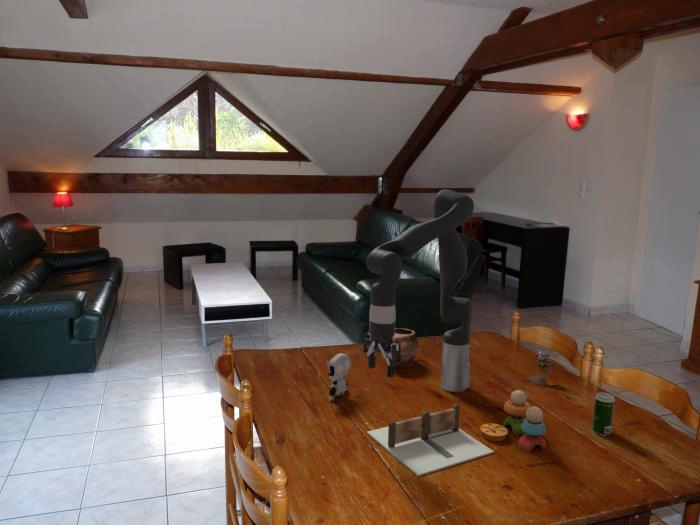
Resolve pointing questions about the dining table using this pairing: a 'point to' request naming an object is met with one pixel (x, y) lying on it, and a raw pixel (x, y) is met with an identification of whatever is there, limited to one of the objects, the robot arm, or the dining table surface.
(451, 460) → the board
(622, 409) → the dining table surface
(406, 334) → the decorative planter
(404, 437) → the panel
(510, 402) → the set of stacked toys
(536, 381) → the robot figurine
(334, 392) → the robot toy
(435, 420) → the fence fixed
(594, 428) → the beer can
